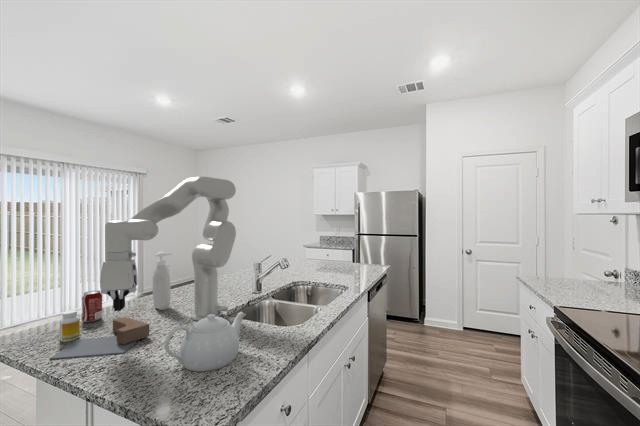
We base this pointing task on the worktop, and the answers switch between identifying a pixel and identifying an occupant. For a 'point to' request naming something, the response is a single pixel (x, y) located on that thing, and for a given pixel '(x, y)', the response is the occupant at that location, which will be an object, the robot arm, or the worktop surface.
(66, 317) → the supplement bottle
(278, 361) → the worktop surface
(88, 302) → the soda can
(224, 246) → the robot arm
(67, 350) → the rubber mat
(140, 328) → the wooden block
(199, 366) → the teapot
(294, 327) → the worktop surface
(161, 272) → the soap bottle
